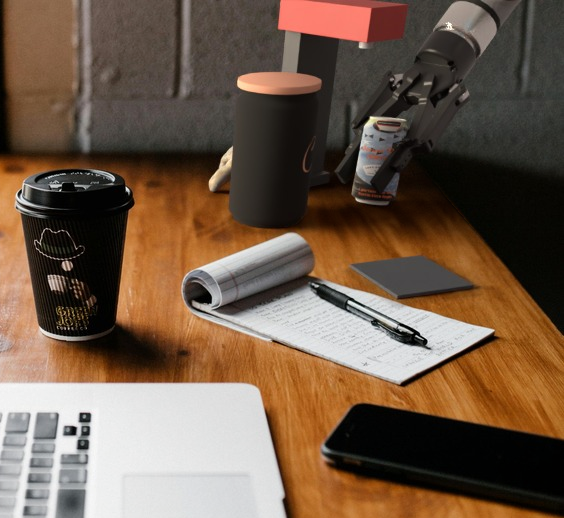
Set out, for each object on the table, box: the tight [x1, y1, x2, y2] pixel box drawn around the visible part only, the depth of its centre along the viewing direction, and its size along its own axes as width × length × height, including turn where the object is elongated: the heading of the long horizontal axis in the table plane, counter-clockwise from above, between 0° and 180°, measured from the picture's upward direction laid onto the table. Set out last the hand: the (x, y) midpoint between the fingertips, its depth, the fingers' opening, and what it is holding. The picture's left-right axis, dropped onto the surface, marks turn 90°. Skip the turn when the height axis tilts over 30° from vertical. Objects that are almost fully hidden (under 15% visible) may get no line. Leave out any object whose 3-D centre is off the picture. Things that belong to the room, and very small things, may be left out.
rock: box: [208, 145, 233, 193], centre depth 134 cm, size 20×5×7 cm, turn 166°
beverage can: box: [351, 116, 409, 206], centre depth 121 cm, size 6×7×12 cm
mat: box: [348, 254, 475, 300], centre depth 100 cm, size 10×10×1 cm
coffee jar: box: [228, 71, 322, 229], centre depth 114 cm, size 11×11×18 cm
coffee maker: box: [277, 0, 409, 188], centre depth 122 cm, size 10×18×26 cm, turn 35°
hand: (357, 182), depth 121 cm, fingers closed on beverage can, 6 cm apart
